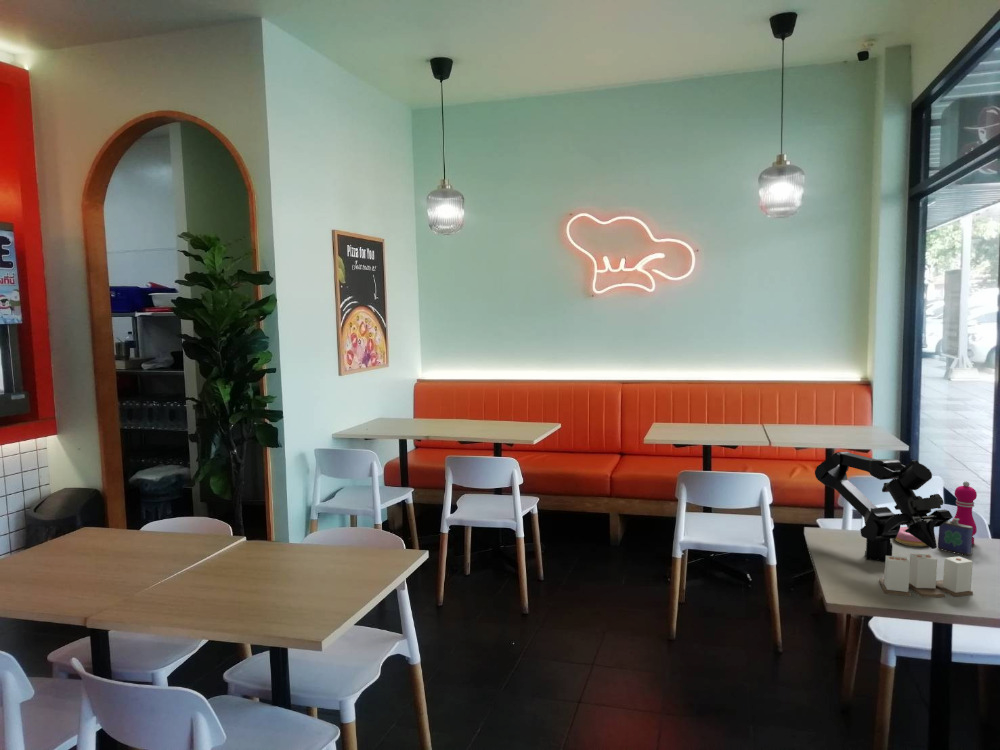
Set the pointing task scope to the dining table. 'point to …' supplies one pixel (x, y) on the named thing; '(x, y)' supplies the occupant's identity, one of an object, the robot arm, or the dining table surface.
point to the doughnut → (908, 538)
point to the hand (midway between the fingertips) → (934, 548)
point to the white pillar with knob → (957, 574)
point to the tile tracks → (926, 590)
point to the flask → (955, 537)
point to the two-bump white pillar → (923, 571)
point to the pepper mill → (965, 506)
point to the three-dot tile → (897, 573)
